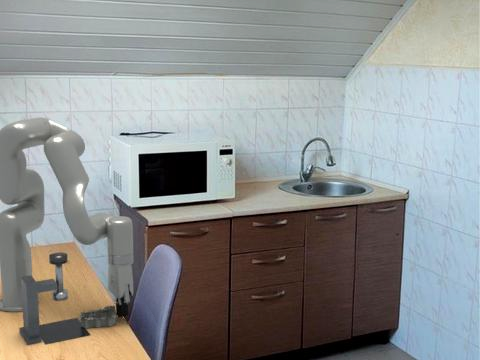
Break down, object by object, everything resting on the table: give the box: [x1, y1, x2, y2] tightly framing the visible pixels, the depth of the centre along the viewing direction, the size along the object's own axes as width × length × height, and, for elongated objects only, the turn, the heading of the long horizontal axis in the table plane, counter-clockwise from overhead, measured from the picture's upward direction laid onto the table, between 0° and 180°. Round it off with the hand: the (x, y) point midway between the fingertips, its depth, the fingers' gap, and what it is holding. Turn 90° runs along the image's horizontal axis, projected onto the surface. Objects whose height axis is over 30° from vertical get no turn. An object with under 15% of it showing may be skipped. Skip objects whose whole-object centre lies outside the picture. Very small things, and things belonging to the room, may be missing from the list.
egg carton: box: [79, 305, 117, 329], centre depth 202 cm, size 11×8×4 cm
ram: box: [48, 252, 69, 302], centre depth 194 cm, size 5×5×13 cm
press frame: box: [18, 274, 91, 346], centre depth 195 cm, size 14×18×17 cm
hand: (122, 315), depth 206 cm, fingers closed
